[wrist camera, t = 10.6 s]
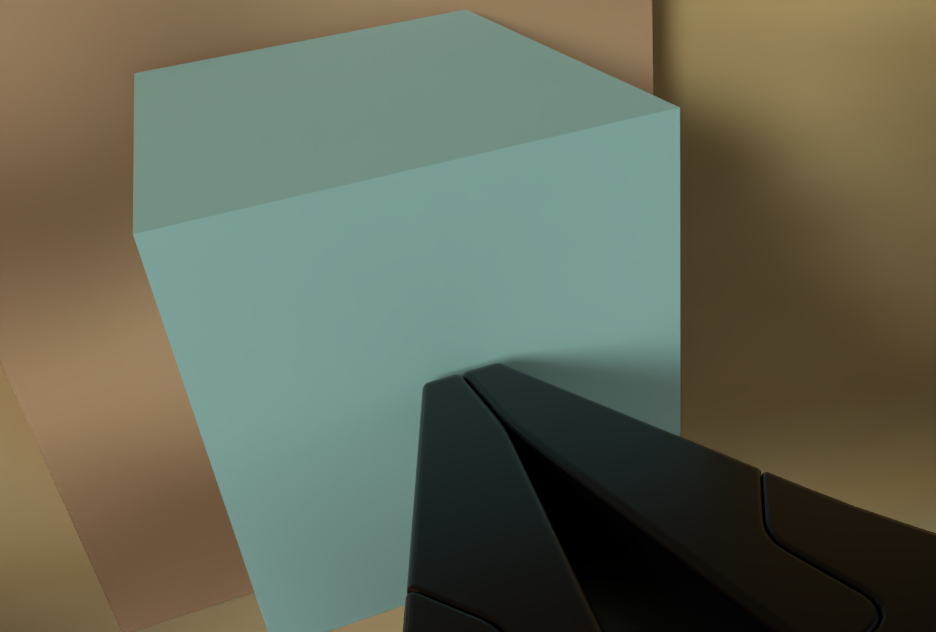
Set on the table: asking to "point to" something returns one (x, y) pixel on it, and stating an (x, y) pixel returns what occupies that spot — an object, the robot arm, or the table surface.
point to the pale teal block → (394, 270)
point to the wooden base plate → (122, 272)
